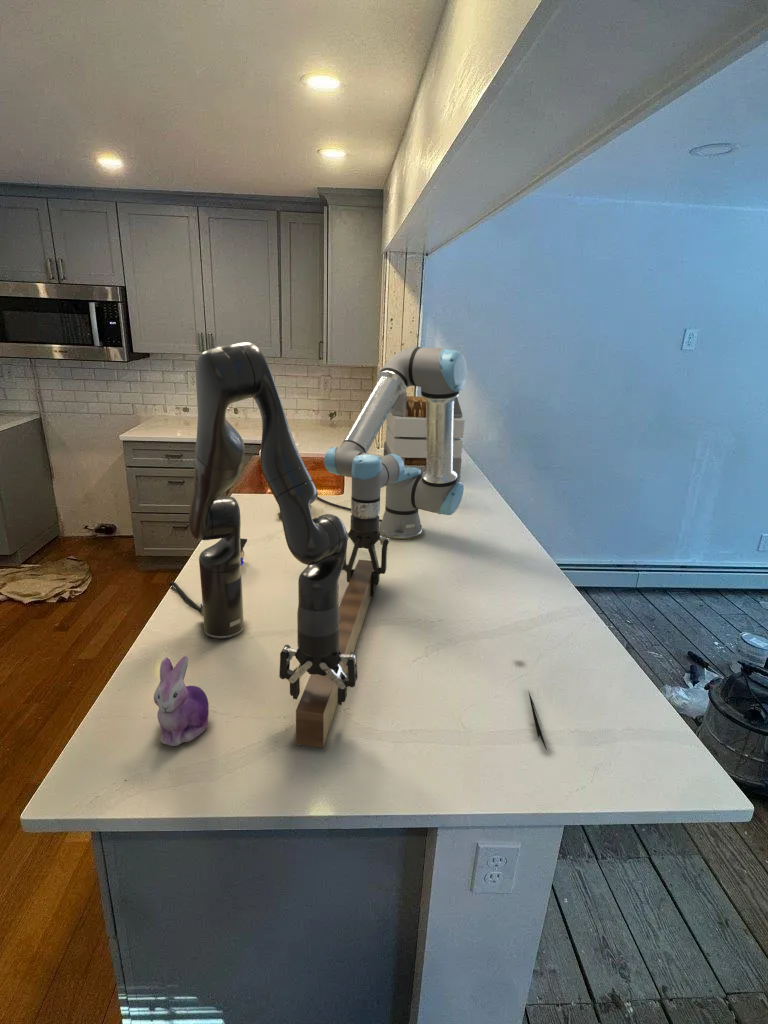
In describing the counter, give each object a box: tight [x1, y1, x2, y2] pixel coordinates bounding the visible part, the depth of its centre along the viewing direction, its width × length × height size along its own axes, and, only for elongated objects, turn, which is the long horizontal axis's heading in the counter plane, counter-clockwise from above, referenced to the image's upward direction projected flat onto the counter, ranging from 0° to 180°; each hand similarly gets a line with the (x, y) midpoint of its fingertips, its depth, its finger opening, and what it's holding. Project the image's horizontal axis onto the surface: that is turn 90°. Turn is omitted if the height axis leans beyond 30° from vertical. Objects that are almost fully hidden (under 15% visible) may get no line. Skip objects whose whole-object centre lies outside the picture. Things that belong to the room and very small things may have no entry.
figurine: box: [153, 655, 210, 747], centre depth 102 cm, size 9×10×15 cm
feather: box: [528, 689, 548, 751], centre depth 116 cm, size 2×28×2 cm
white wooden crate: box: [383, 389, 465, 482], centre depth 268 cm, size 34×33×41 cm
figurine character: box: [240, 537, 248, 567], centre depth 166 cm, size 7×8×15 cm
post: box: [295, 559, 374, 749], centre depth 131 cm, size 65×5×8 cm, turn 173°
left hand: (318, 699), depth 107 cm, fingers open, 8 cm apart
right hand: (362, 593), depth 156 cm, fingers closed on post, 5 cm apart
